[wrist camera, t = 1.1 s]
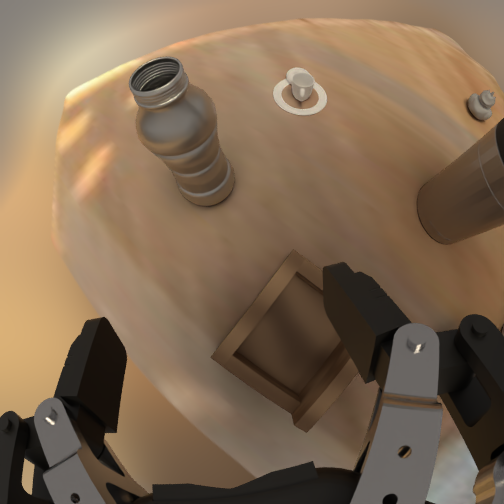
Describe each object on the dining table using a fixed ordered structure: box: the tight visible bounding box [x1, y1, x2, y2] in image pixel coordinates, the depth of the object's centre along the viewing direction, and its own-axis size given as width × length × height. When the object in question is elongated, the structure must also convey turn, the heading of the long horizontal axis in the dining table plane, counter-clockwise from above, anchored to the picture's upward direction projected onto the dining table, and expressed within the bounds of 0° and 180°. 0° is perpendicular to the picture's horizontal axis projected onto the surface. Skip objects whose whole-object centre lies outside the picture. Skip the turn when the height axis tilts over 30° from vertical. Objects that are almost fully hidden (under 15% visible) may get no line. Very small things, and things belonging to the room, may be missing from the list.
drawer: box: [211, 249, 359, 433], centre depth 27 cm, size 14×12×7 cm
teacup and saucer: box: [273, 68, 327, 115], centre depth 34 cm, size 9×8×4 cm
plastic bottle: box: [129, 57, 234, 206], centre depth 24 cm, size 6×7×20 cm
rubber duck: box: [468, 90, 496, 120], centre depth 31 cm, size 5×7×8 cm
